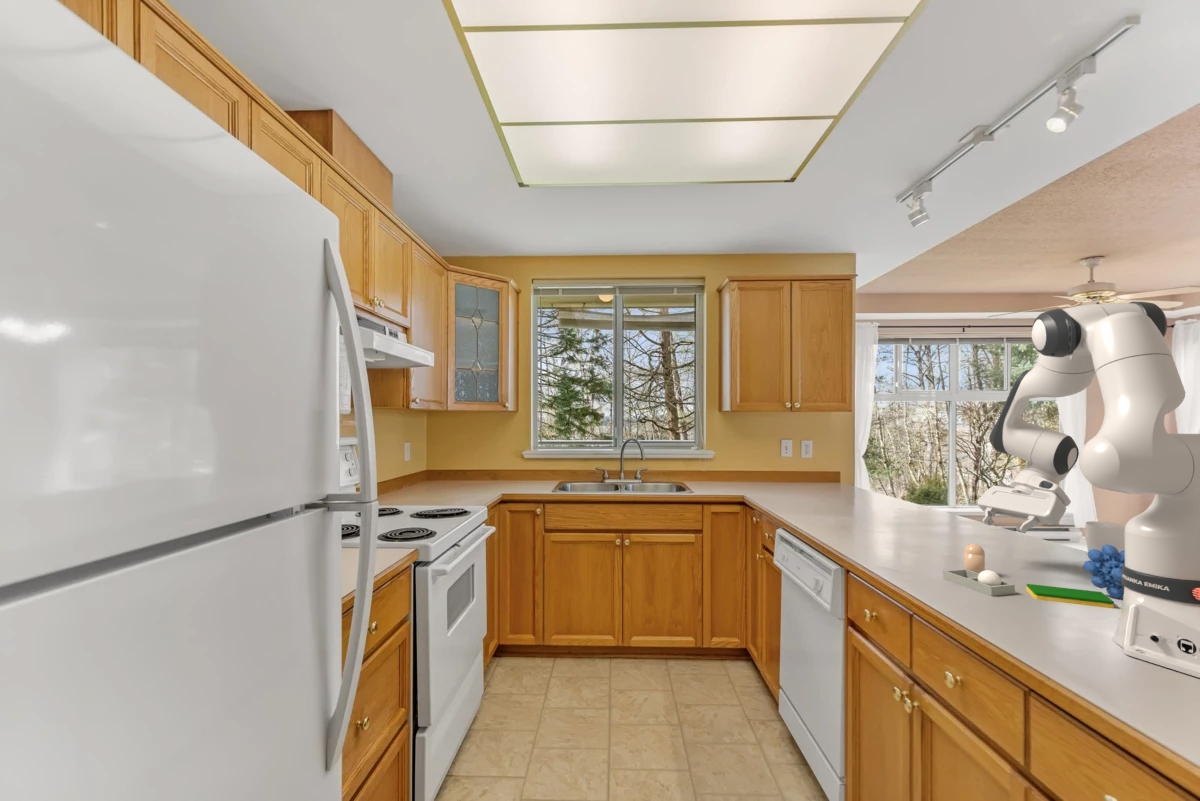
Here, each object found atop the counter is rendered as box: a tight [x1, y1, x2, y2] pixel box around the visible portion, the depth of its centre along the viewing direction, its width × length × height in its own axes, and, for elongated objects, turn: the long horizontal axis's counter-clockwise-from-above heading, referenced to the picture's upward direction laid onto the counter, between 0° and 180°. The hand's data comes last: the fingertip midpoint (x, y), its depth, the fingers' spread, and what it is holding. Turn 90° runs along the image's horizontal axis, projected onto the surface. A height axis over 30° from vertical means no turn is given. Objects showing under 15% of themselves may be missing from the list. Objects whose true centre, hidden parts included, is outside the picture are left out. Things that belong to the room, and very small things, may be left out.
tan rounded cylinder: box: [963, 543, 986, 573], centre depth 144 cm, size 4×4×8 cm
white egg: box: [978, 569, 1002, 586], centre depth 131 cm, size 5×5×5 cm
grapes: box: [1082, 545, 1125, 599], centre depth 126 cm, size 12×7×12 cm, turn 57°
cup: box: [1084, 520, 1126, 561], centre depth 149 cm, size 9×9×12 cm
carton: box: [942, 568, 1016, 597], centre depth 134 cm, size 13×7×2 cm, turn 14°
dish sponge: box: [1026, 583, 1115, 609], centre depth 125 cm, size 7×14×2 cm, turn 65°
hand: (1002, 527), depth 146 cm, fingers open, 8 cm apart
